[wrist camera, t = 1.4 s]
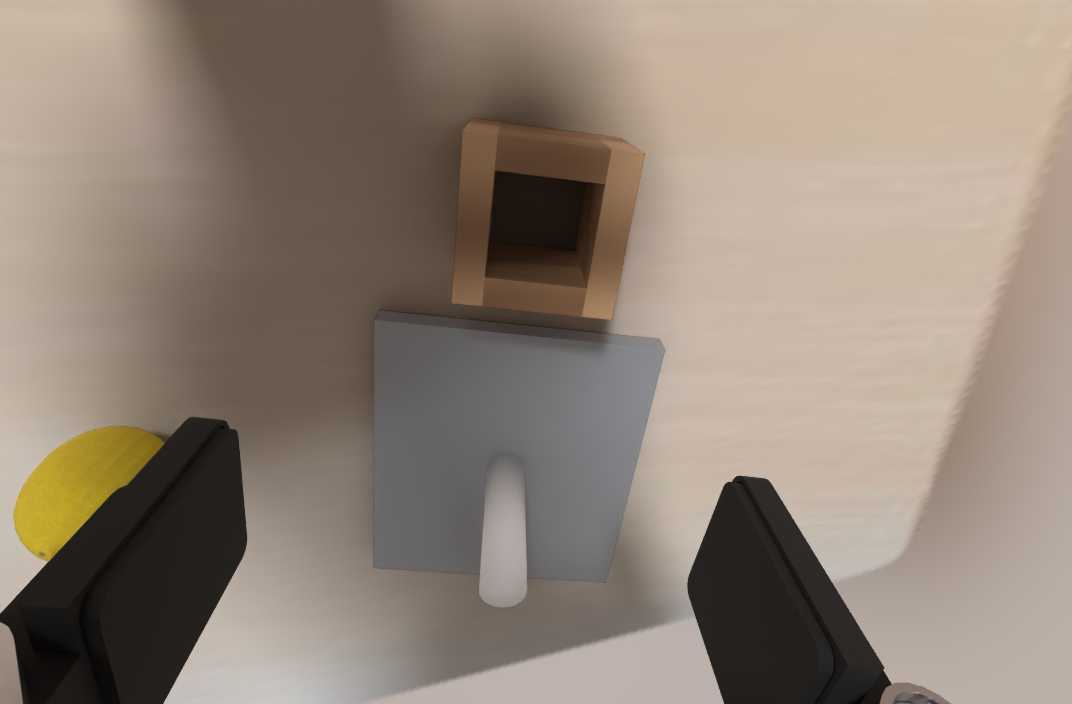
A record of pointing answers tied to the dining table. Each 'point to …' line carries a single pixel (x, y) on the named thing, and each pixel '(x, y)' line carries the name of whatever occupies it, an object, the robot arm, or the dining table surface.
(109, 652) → the robot arm
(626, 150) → the brown wooden hollow block
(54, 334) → the dining table surface
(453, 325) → the grey peg board
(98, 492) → the lemon
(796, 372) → the dining table surface
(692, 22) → the dining table surface
